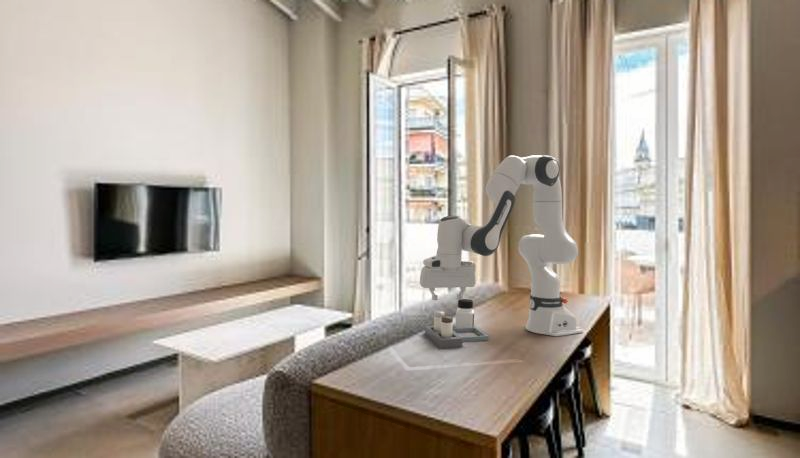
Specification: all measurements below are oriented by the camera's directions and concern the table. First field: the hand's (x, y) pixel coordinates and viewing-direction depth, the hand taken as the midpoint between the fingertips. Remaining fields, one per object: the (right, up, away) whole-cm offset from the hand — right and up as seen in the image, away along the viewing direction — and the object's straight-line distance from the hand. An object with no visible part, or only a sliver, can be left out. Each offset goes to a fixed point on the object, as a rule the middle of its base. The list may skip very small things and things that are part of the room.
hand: (447, 299), depth 174 cm
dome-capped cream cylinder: (-2, -15, +9) cm, 18 cm away
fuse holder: (-1, -17, +5) cm, 17 cm away
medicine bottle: (+10, -16, +26) cm, 32 cm away
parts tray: (+9, -16, +11) cm, 22 cm away
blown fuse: (0, -16, +1) cm, 16 cm away
